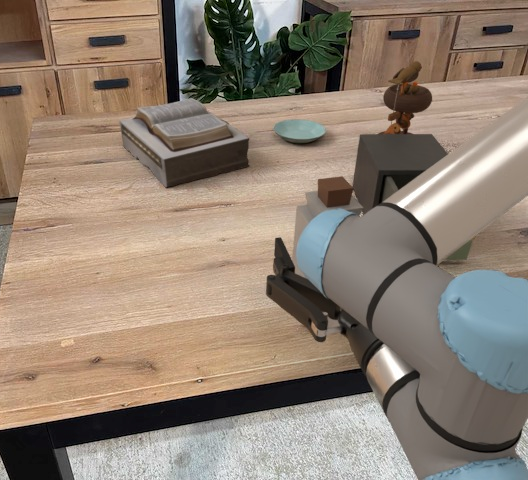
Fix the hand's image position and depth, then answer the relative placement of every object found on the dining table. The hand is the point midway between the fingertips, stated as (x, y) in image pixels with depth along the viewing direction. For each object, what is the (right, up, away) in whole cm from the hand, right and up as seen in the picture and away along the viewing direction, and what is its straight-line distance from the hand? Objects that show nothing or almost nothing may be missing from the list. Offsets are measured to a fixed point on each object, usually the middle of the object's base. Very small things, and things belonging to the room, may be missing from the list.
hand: (328, 241), depth 69 cm
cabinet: (+18, +6, +27) cm, 33 cm away
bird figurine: (+25, +19, +46) cm, 55 cm away
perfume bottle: (0, -8, +6) cm, 10 cm away
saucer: (+5, +24, +54) cm, 59 cm away
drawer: (+18, 0, +15) cm, 23 cm away
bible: (-21, +18, +47) cm, 54 cm away
